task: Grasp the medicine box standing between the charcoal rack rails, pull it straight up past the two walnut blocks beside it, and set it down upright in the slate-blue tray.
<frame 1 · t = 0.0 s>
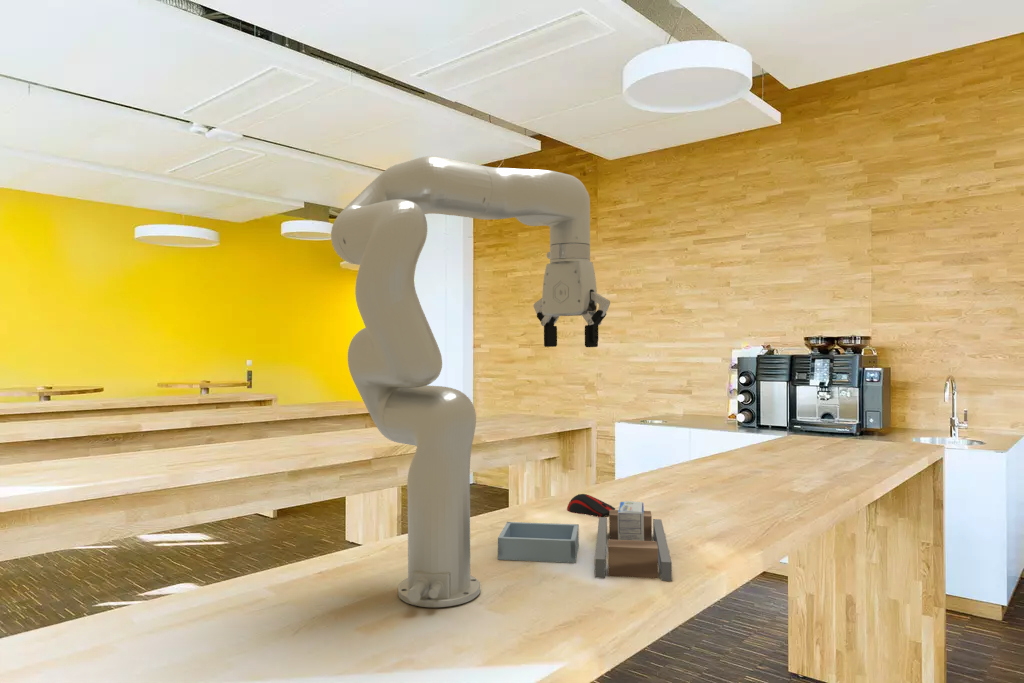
hand: (570, 346, 129), 37 cm above the table, tool pointing down, fingers open, 9 cm apart
medicine box: (631, 555, 124), on the table
computer mouse: (590, 514, 154), on the table
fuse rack: (631, 553, 124), on the table
near walnut block: (632, 573, 114), on the table
tray: (539, 551, 125), on the table
far walnut block: (630, 538, 133), on the table
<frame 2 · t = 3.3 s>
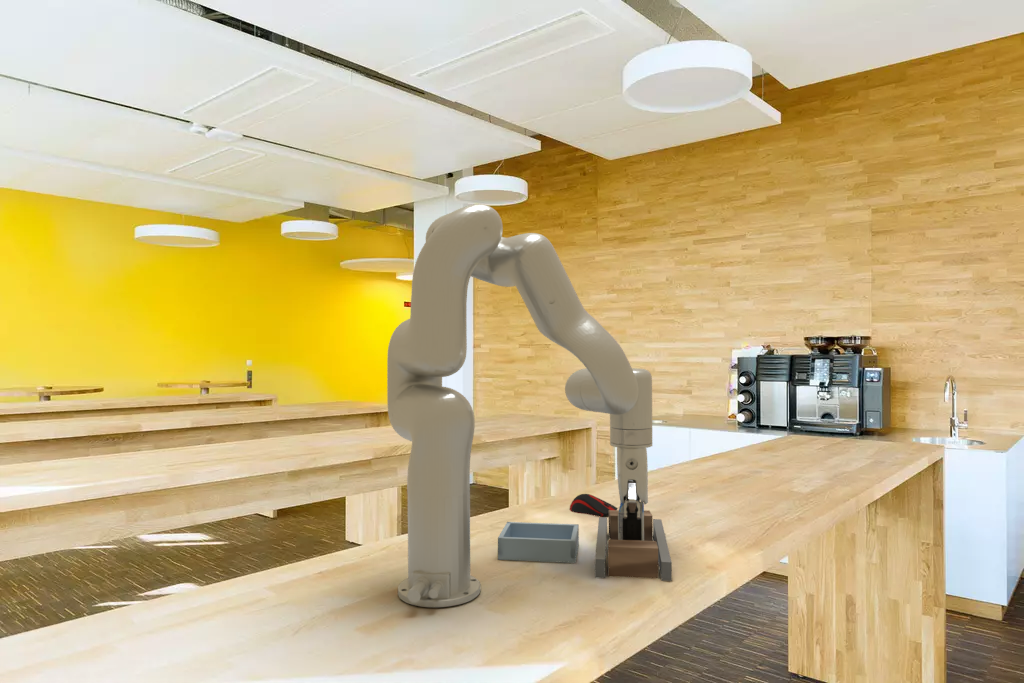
hand: (631, 533, 124), 4 cm above the table, tool pointing down, fingers closed on medicine box, 8 cm apart
medicine box: (631, 555, 124), on the table, touching gripper
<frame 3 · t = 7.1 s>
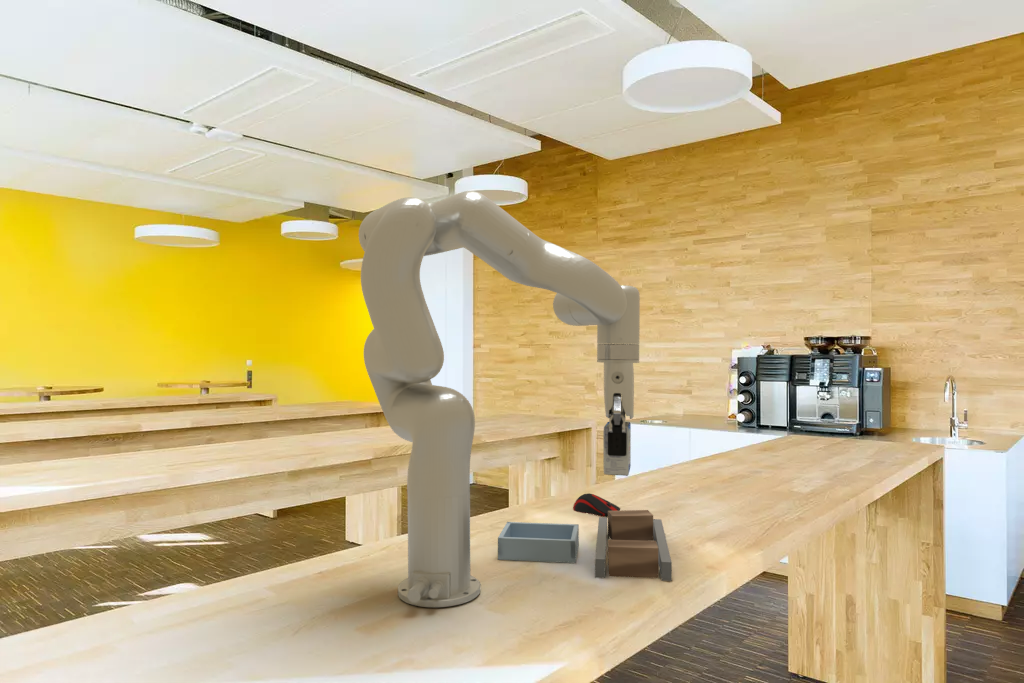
hand: (617, 451, 123), 19 cm above the table, tool pointing down, fingers closed on medicine box, 8 cm apart
medicine box: (617, 472, 123), point 15 cm above the table, touching gripper
when the fingers open (6 cm above the table, at t = 11.1 s): medicine box drops 1 cm, resting on tray.
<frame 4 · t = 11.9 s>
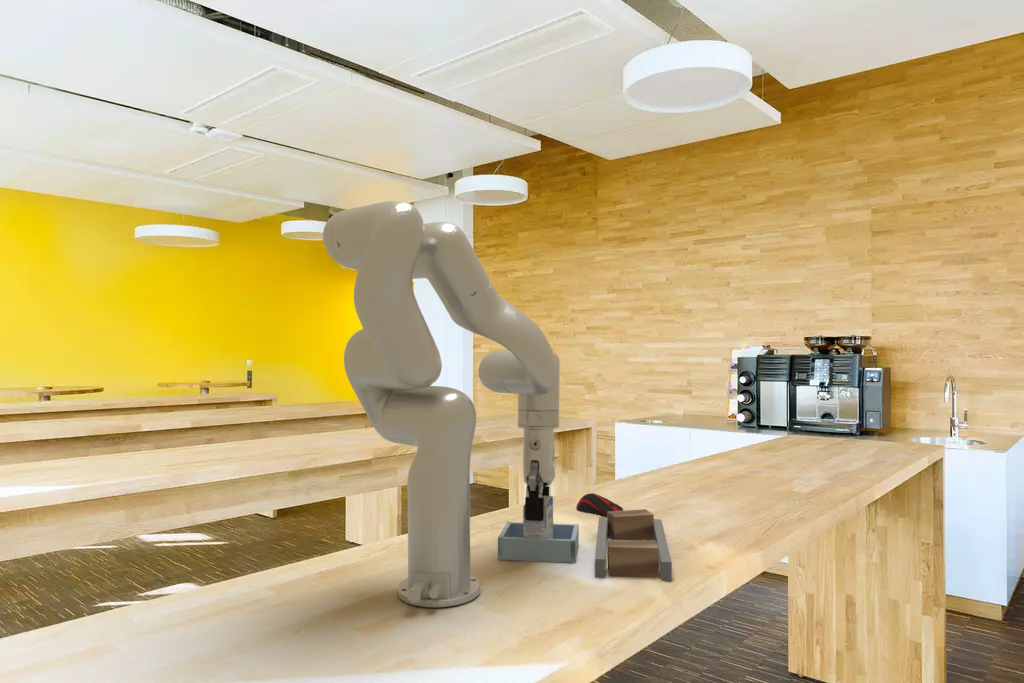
hand: (537, 513, 125), 7 cm above the table, tool pointing down, fingers open, 9 cm apart
medicine box: (538, 548, 125), point 1 cm above the table, touching tray
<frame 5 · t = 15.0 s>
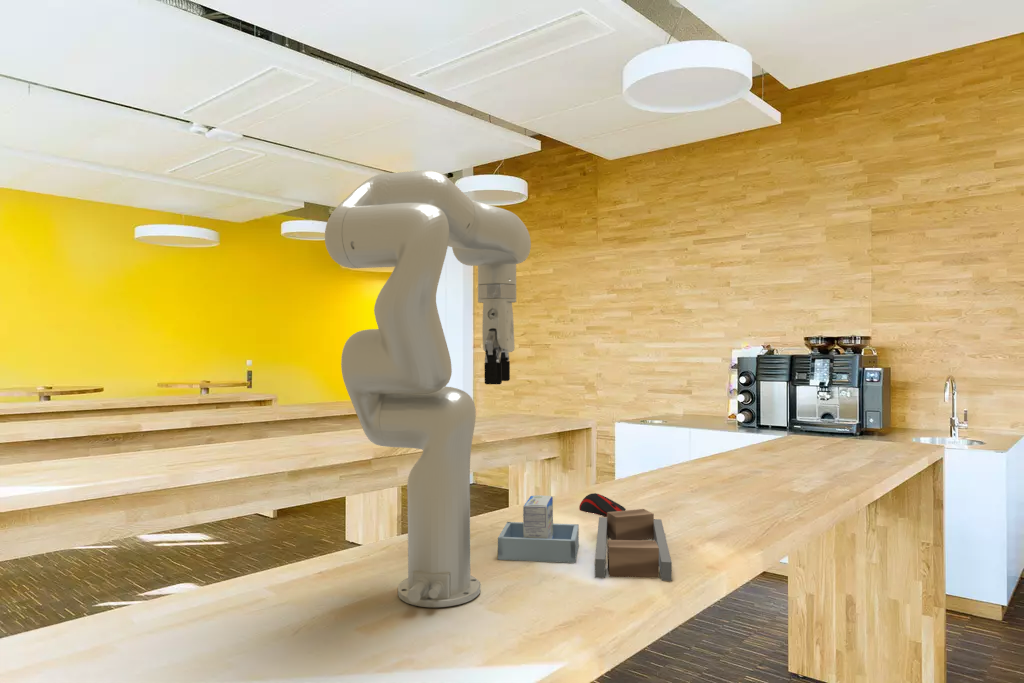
hand: (497, 382, 134), 30 cm above the table, tool pointing down, fingers open, 9 cm apart
at the end: medicine box inside the target area on the tray (0.2 cm from its centre), point 0.6 cm above the tray's base; near walnut block moved 0.2 cm from its start; far walnut block moved 0.2 cm from its start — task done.
